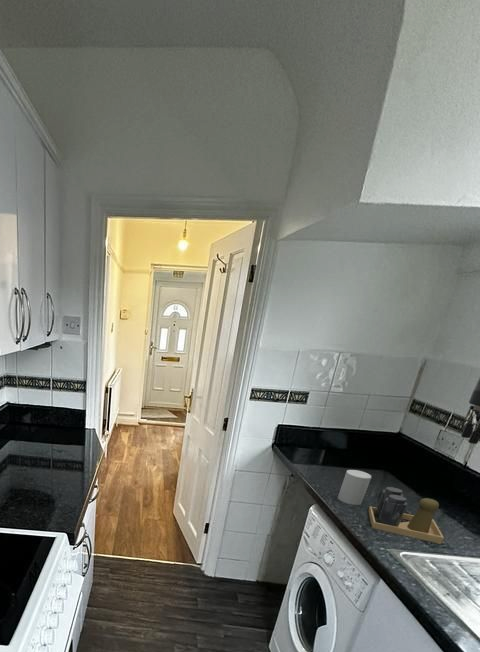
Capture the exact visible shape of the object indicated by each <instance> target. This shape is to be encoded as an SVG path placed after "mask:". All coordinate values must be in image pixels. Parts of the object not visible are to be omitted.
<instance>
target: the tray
mask: <svg viewBox="0 0 480 652" xmlns="http://www.w3.org/2000/svg"><path fill="white" fill-rule="evenodd" d="M376 509H377V507H374V506H369V508H368V510H367V511H368V516H369V520H370V525H371V528H372V529H376V530H380V531H384V532H388V533H392V534H396V535H401V536H405V537H409V538H412V539H417V540H421V541H426V542H429V543H434V544H438V545H442V544H443V542H444V539H445V537H444V535H443V533H442V532H441V530H440V528H439V526H438V525H437V522H436V521H435V519H434V518H432V522H431V525H430V529H429V532H428V533H423V532H418V531H414V530H411V529H409V528H408V527H407V526H408V524H409V522H410V521H411V519H412V518H413V516H414V515H415V514H409V513H405V512H404V513H403V516H402V519H401V520H405V521H403V522H401V521H400V524H399V526H398V527H395V526H391V525H386V524H381V523H377V521H376V517H375V516H374V514H375V512H376ZM406 520H407V521H406Z"/></svg>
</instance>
